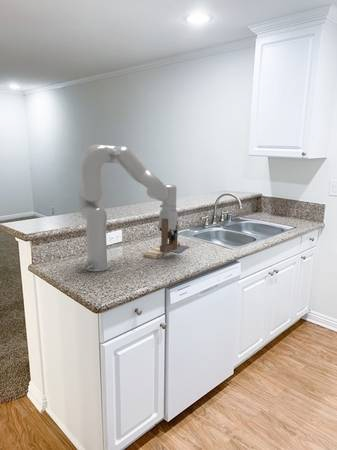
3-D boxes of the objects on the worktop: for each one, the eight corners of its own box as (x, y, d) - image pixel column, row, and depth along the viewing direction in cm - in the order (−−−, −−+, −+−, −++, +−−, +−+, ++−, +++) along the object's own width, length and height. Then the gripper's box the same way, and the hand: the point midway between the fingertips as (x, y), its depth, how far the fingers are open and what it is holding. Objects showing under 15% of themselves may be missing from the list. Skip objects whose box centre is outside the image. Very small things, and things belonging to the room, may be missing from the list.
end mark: (179, 253, 196) (179, 252, 196) (170, 251, 198) (170, 251, 198) (189, 247, 208) (189, 246, 208) (181, 245, 210) (181, 245, 210)
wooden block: (177, 249, 192) (178, 217, 188) (164, 253, 184) (165, 220, 180) (172, 247, 195) (173, 216, 191) (159, 251, 187) (159, 219, 183)
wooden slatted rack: (156, 259, 185) (156, 256, 184) (143, 257, 188) (143, 253, 188) (180, 245, 211) (180, 242, 210) (168, 244, 214) (168, 240, 214)
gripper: (151, 207, 184) (151, 240, 188) (180, 210, 177) (179, 244, 181) (158, 205, 191) (158, 237, 195) (186, 208, 183) (185, 241, 187)
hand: (168, 240), depth 188 cm, fingers closed on wooden block, 4 cm apart
